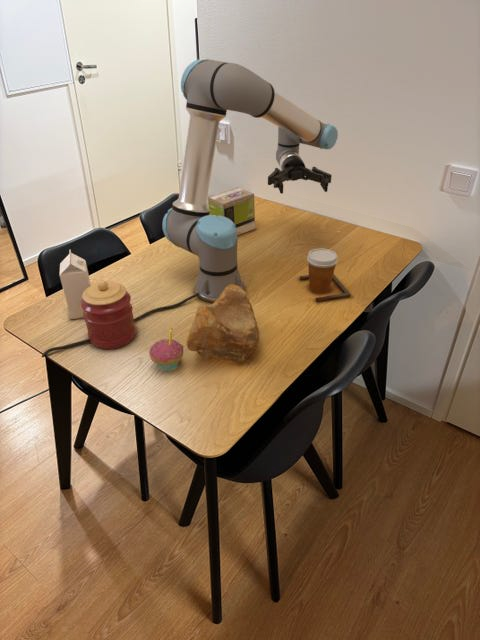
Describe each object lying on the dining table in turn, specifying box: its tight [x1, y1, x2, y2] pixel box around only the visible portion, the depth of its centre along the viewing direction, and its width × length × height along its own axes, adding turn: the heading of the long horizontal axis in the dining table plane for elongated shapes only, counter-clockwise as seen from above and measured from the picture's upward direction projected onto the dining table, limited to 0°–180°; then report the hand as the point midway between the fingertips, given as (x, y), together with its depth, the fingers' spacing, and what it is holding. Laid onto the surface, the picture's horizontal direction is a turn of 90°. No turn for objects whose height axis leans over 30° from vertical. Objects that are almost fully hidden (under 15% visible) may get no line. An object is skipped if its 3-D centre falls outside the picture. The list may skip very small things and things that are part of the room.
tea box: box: [207, 187, 256, 236], centre depth 188 cm, size 15×10×15 cm
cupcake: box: [148, 327, 184, 372], centre depth 123 cm, size 9×8×12 cm
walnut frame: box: [299, 273, 352, 303], centre depth 157 cm, size 11×15×1 cm
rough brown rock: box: [186, 284, 260, 364], centre depth 127 cm, size 23×17×15 cm
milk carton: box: [59, 249, 92, 320], centre depth 142 cm, size 7×7×19 cm
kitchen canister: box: [81, 279, 137, 350], centre depth 132 cm, size 13×13×18 cm
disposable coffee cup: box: [306, 247, 339, 294], centre depth 153 cm, size 10×10×12 cm
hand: (304, 188), depth 149 cm, fingers open, 13 cm apart
